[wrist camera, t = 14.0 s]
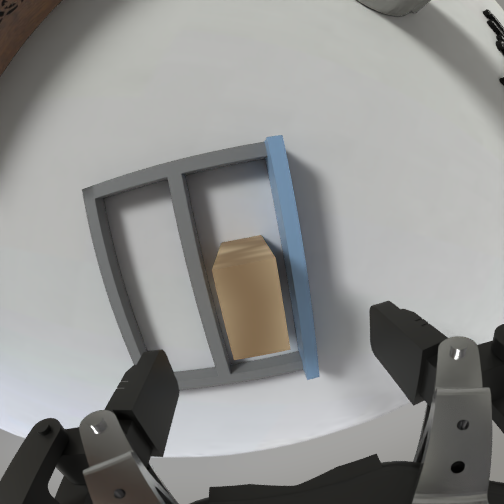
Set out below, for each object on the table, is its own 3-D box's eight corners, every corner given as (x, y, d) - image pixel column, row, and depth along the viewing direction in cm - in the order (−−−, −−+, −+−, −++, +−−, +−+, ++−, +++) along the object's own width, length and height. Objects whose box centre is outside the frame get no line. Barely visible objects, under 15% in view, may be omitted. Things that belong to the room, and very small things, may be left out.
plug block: (261, 235, 21) (275, 257, 13) (272, 297, 22) (290, 349, 14) (221, 242, 21) (211, 270, 13) (234, 304, 22) (234, 360, 14)
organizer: (275, 143, 19) (282, 135, 16) (310, 357, 23) (319, 376, 20) (91, 189, 19) (72, 189, 16) (150, 382, 23) (142, 402, 20)
